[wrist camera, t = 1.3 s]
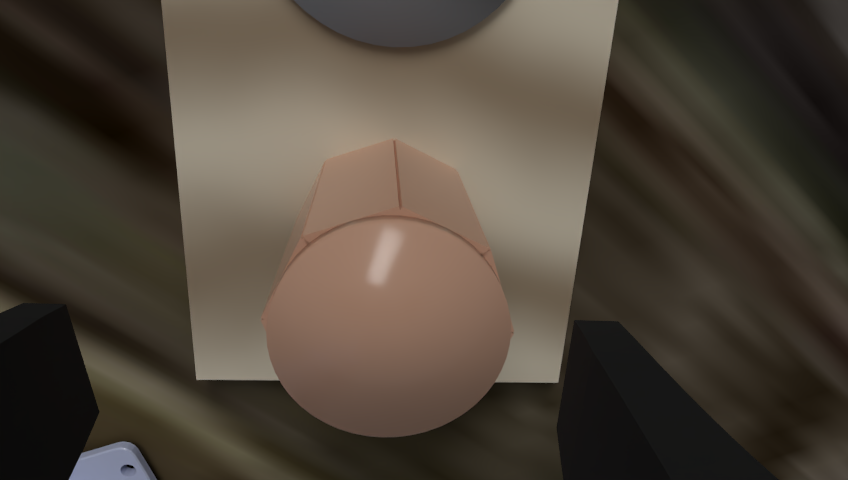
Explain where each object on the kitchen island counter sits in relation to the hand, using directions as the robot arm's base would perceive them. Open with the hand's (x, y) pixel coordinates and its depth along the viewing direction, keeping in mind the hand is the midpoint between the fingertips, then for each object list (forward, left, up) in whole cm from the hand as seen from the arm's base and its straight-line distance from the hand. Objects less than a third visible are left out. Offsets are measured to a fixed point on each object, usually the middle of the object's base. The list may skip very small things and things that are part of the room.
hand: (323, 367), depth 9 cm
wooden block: (-2, -1, -10) cm, 10 cm away
